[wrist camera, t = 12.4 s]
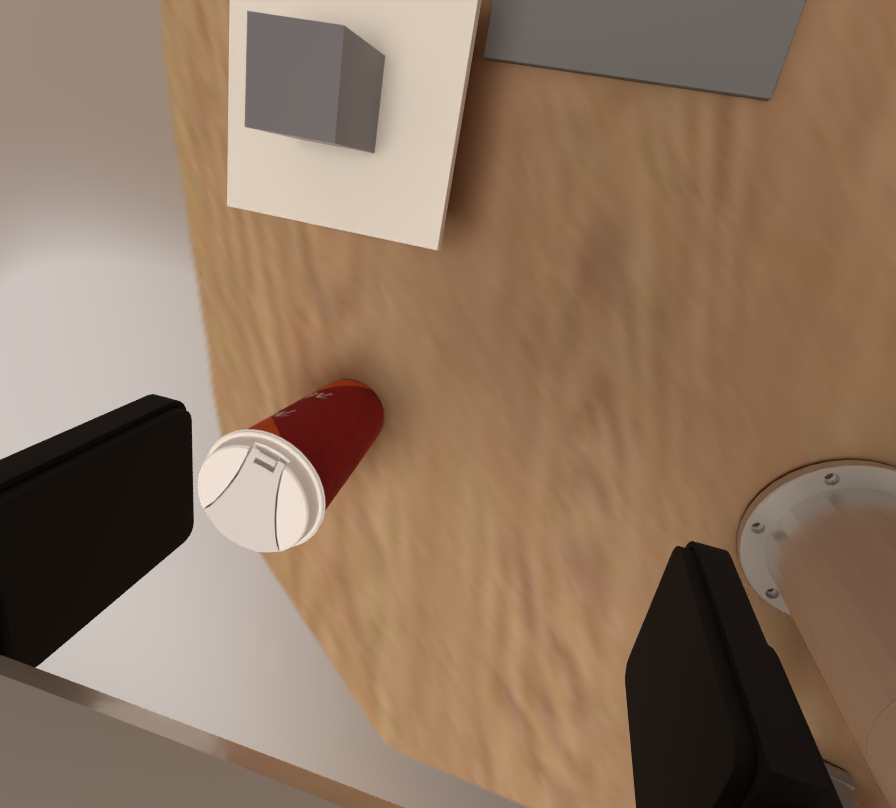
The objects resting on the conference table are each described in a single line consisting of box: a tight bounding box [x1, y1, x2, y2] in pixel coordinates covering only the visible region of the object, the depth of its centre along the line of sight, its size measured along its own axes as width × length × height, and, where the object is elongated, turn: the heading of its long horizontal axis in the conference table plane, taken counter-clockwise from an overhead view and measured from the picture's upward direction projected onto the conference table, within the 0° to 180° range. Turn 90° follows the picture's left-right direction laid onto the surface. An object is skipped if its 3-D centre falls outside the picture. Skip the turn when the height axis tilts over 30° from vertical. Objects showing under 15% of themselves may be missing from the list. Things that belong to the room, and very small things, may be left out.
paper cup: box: [198, 380, 384, 552], centre depth 36 cm, size 8×8×14 cm
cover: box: [227, 0, 482, 250], centre depth 26 cm, size 13×13×6 cm
